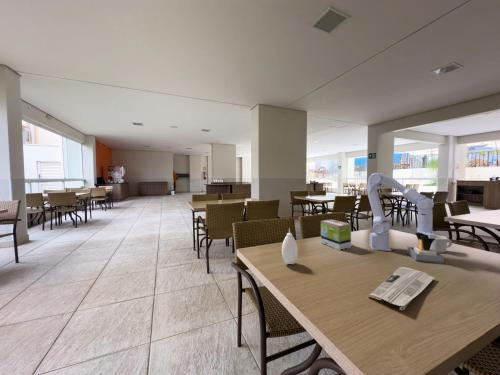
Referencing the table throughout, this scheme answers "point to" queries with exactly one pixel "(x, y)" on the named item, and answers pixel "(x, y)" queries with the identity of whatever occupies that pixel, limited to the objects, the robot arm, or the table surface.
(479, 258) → the table surface
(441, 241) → the cup
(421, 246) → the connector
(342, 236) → the tea box
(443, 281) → the table surface
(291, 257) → the sauce bottle
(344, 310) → the table surface
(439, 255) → the walled box
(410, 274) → the newspaper
